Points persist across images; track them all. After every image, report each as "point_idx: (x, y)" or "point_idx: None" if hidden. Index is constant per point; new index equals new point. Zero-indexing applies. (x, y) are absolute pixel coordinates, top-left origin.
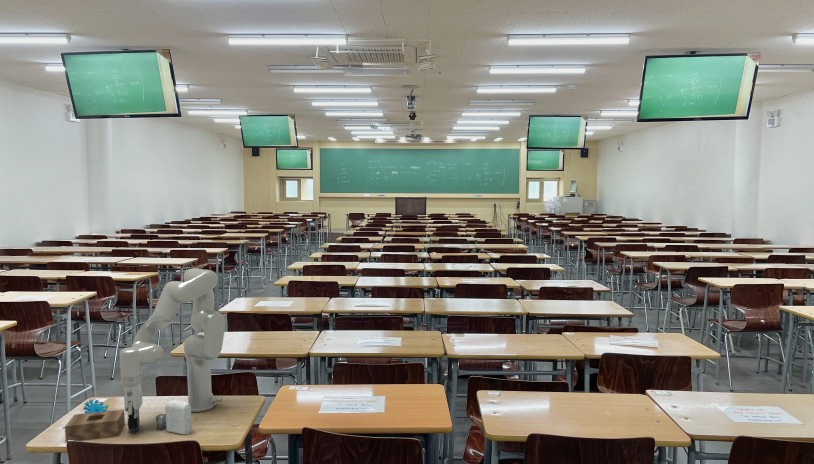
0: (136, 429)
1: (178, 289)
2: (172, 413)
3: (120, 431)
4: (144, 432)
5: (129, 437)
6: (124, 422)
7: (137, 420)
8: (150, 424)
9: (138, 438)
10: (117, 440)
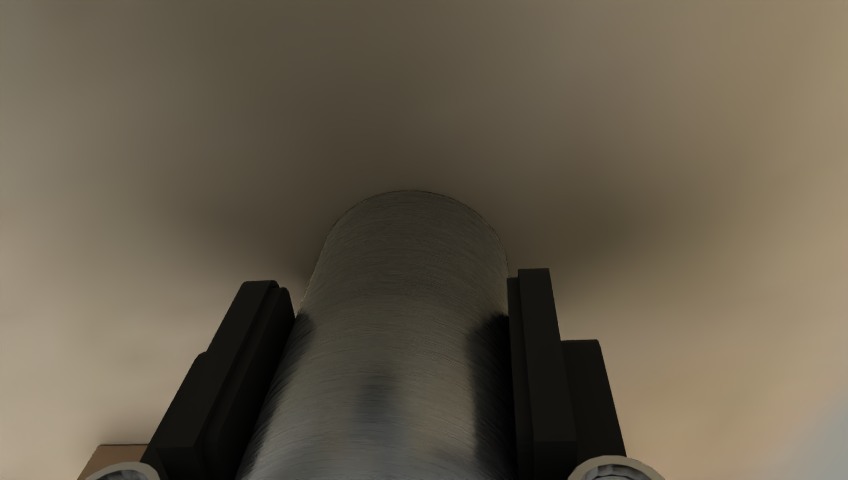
0: (489, 256)
1: None
2: None
3: None
4: (531, 78)
5: (694, 288)
6: None
7: (461, 358)
8: (100, 57)
9: (835, 124)
10: (745, 419)
